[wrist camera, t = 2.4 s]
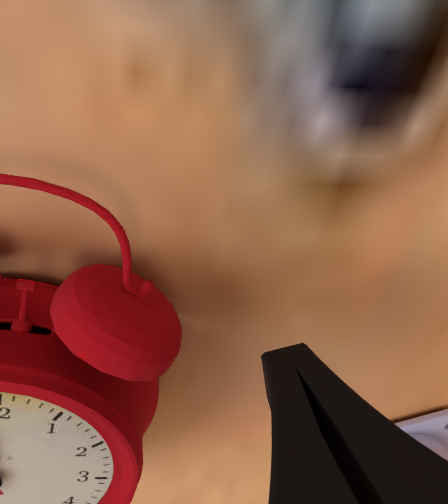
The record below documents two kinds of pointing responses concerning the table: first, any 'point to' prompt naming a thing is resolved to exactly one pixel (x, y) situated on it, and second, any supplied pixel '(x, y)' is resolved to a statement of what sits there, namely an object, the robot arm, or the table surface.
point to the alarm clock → (80, 376)
